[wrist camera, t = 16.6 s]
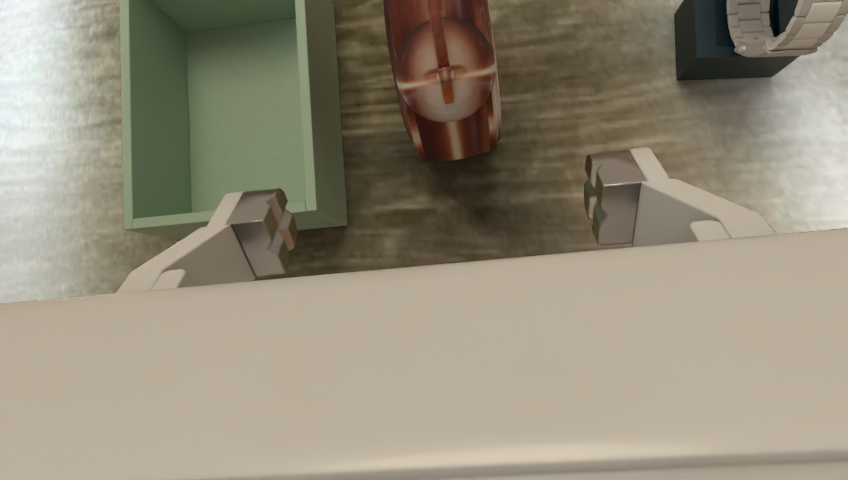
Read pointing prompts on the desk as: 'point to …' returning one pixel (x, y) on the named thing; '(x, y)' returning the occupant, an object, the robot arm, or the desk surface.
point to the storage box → (229, 110)
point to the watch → (750, 35)
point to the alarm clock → (445, 75)
